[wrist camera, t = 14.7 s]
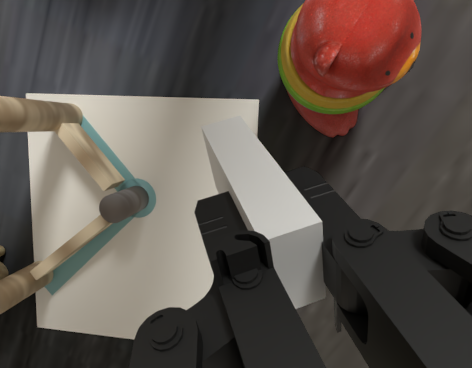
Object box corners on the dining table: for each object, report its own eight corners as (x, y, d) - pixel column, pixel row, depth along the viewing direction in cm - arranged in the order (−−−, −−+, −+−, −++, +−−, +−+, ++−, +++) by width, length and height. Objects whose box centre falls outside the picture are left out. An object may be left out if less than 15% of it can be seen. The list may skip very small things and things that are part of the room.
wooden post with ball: (52, 115, 42) (-184, 104, 21) (72, 95, 41) (-153, 62, 21) (137, 215, 42) (-16, 300, 21) (158, 196, 41) (21, 265, 21)
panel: (108, 200, 41) (-62, 266, 22) (127, 224, 41) (-25, 312, 22) (23, 269, 44) (-195, 382, 25) (40, 292, 44) (-163, 423, 25)
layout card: (27, 93, 42) (25, 93, 42) (259, 99, 38) (258, 99, 38) (38, 325, 46) (36, 327, 46) (247, 352, 43) (247, 354, 42)
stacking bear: (338, 145, 38) (374, 161, 20) (257, 86, 38) (226, 50, 21) (411, 53, 36) (523, -18, 18) (325, -9, 36) (353, -138, 18)
